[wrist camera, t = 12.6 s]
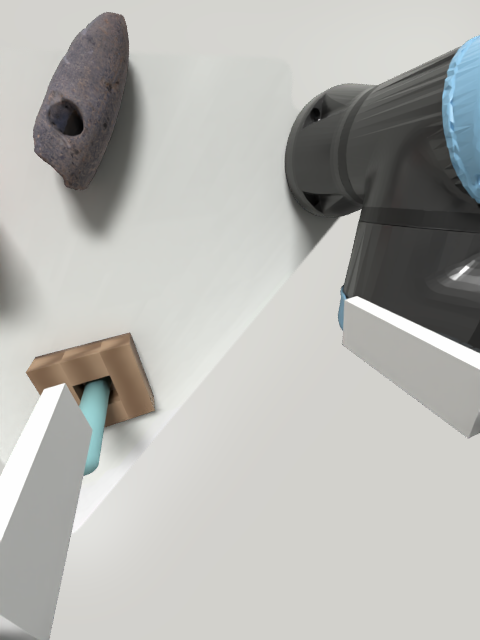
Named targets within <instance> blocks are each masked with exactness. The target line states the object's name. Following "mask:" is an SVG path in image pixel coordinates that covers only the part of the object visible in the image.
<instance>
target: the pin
mask: <svg viewBox="0 0 480 640" xmlns="http://www.w3.org/2000/svg"><path fill="white" fill-rule="evenodd" d="M110 387H111V377H110V376H105V377H102V378H99V379H95V380H92V381H88V382H86V385H85V388H84V391H83V395H82V398H81V402H80V405H79V408H80V409H81V411H82V413H83V414H84V416H85V418H86V420H87V421H88V423H89V425H90V426H91V428H92V430H93V431H92V436H91V441H90V445H89V450H88V455H87V460H86V465H85V469H84V474H83V476H85V475H88V474H90V473H92V472H93V471H94V470H95V469H96V468H97V467H98V464H99V458H100V451H101V445H102V438H103V432H104V426H105V419H106V413H107V406H108V400H109V394H110Z"/></svg>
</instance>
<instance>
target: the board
mask: <svg viewBox="0 0 480 640" xmlns="http://www.w3.org/2000/svg"><path fill="white" fill-rule="evenodd" d="M26 374H27V375H28V377H29V378H30V380H31V381H32V383H33V385H34V386H35V388H36V389H37V391H38V392H39V394H40V396H41V394H42V392H43V390H44V389H46V388H50V387H53V386H57V385H60V384H63V383H65V384H66V385H67V387H68V389H69V390H70V392H71V394H72V396H73V397H74V399H75V401H76V402H77V404H78V406H79V405H80V402H81V398H82V395H83V391H84V388H85V385H86V382H88V381H92V380H95V379H99V378H102V377H105V376H110V377H111V387H110V394H109V400H108V406H107V413H106V419H105V426H104V428H105V427H107V426H110V425H113V424H116V423H119V422H122V421H125V420H128V419H131V418H134V417H137V416H140V415H143V414H146V413H149V412H152V411H155V408H154V396H153V393H152V390H151V387H150V385H149V382H148V379H147V377H146V374H145V371H144V369H143V366H142V363H141V361H140V358H139V355H138V352H137V350H136V347H135V344H134V342H133V339H132V336H131V334H130V333H126V334H123V335H119V336H115V337H111V338H107V339H103V340H100V341H96V342H92V343H88V344H84V345H81V346H77V347H73V348H69V349H65V350H61V351H58V352H54V353H50V354H46V355H42V356H39V357H35V359H34V360H33V362H32V364H31V365H30V367H29V368H28V370H27V372H26Z"/></svg>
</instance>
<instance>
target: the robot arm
mask: <svg viewBox="0 0 480 640" xmlns="http://www.w3.org/2000/svg"><path fill="white" fill-rule="evenodd" d="M285 166H286V175H287V180H288V184H289V187H290V189H291V192H292V194H293V195H294V197H295V199H296V200H297V202H298V203H299V204H300V205H301V206H302V207H303V208H304V209H305V210H307V211H308V212H310V213H312V214H315V215H318V216H325V217H340V216H345V215H348V214H350V213H353V212H355V211H358V210H360V209H362V210H361V215H360V219H359V222H358V227H357V232H356V236H355V240H354V245H353V249H352V254H351V258H350V262H349V266H348V270H347V275H346V279H345V283H344V285H343V286H342V287H341V301H340V307H339V313H338V321H339V324H340V327H341V328H342V330H343V344H342V345H343V346H345V347H346V348H347V349H349V350H350V351H351V352H353V353H354V354H355V355H357V356H358V357H359V358H361V359H362V360H364V361H365V362H366V363H367V364H369V365H370V366H371V367H373V368H374V369H376V370H377V371H378V372H380V373H381V374H382V375H384V376H385V377H386V378H388V379H389V380H390V381H392V382H393V383H394V384H396V385H397V386H398V387H400V388H401V389H402V390H404V391H405V392H406V393H408V394H409V395H410V396H412V397H413V398H415V399H416V400H417V401H418V402H420V403H421V404H422V405H424V406H425V407H427V408H428V409H429V410H431V411H432V412H433V413H435V414H436V415H437V416H439V417H440V418H442V419H443V420H444V421H445V422H447V423H448V424H449V425H451V426H452V427H453V428H455V429H456V430H458V431H459V432H460V433H461V434H463V435H464V436H465V437H467V438H470V437H472V436H474V435H476V434H478V433H480V35H479V36H476V37H474V38H472V39H470V40H468V41H467V42H466V43H465V44H464V45H463V46H460V47H458V48H456V49H454V50H452V51H450V52H447V53H446V54H443V55H441V56H439V57H437V58H435V59H433V60H431V61H428V62H426V63H424V64H422V65H420V66H418V67H416V68H414V69H411V70H409V71H407V72H405V73H403V74H401V75H399V76H396V77H394V78H392V79H390V80H388V81H386V82H384V83H382V84H380V85H364V84H342V85H337V86H335V87H332V88H330V89H328V90H326V91H324V92H323V93H321V94H319V95H318V96H316V97H314V98H313V99H312V100H311V101H310V102H309V103H308V104H307V105H306V106H305V107H304V108H303V109H302V111H301V112H300V114H299V115H298V117H297V118H296V120H295V122H294V124H293V127H292V129H291V132H290V135H289V138H288V142H287V148H286V157H285ZM92 431H93V430H92V428H91V426H90V425H89V423H88V421H87V420H86V418H85V416H84V414H83V413H82V411H81V409H80V408H79V406H78V404H77V402H76V401H75V399H74V397H73V396H72V394H71V392H70V390H69V389H68V387H67V385H66V384H65V383H63V384H60V385H57V386H53V387H50V388H46V389H44V390H43V392H42V394H41V396H40V398H39V400H38V402H37V404H36V406H35V408H34V410H33V412H32V414H31V416H30V418H29V420H28V422H27V424H26V426H25V428H24V430H23V432H22V434H21V436H20V438H19V440H18V442H17V444H16V446H15V448H14V450H13V452H12V454H11V456H10V458H9V460H8V462H7V464H6V466H5V468H4V470H3V472H2V474H1V476H0V640H49V638H50V633H51V628H52V624H53V619H54V614H55V609H56V604H57V599H58V594H59V590H60V585H61V580H62V575H63V571H64V566H65V561H66V556H67V551H68V546H69V541H70V537H71V532H72V527H73V522H74V518H75V513H76V508H77V503H78V498H79V494H80V489H81V484H82V479H83V474H84V469H85V465H86V460H87V455H88V450H89V445H90V441H91V436H92Z"/></svg>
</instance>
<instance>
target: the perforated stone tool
mask: <svg viewBox="0 0 480 640" xmlns="http://www.w3.org/2000/svg"><path fill="white" fill-rule="evenodd" d="M128 59H129V40H128V32H127V26H126V22H125V19H124V17H123V16H122V15H119V14H116V13H111V12H110V13H109V12H106V13H103V14H101V15H99V16H98V17H97V18H95V19H94V20H93V21H92V22H91V23H90V24H88V25H87V27H86V28H85V29H83V30H82V31H81V32H80V33H79V34H78V35H77V36H76V37H75V39H74V40H73V42H72V43H71V45H70V47H69V49H68V52H67V53H66V55H65V56H64V57H63V59H62V60H61V62H60V64H59V65H58V67H57V69H56V71H55V73H54V75H53V77H52V79H51V81H50V84H49V86H48V90H47V93H46V95H45V98H44V100H43V103H42V106H41V108H40V110H39V113H38V115H37V118H36V121H35V126H34V129H33V138H34V146H35V148H34V152H35V153H36V154H37V155H38V156H39V157H40V158H42V159H43V161H45V162H47V163H48V164H49V165H51V166H52V167H53V168H54V169H55V170H56V171H57V172H58V173H59V174H60V175H61V176H62V177H63V179H64V184H65V186H66V187H69V188H73V189H75V190H79V189H80V190H83V189H86V188H87V186H88V185H89V183H90V182H91V180H92V178H93V176H94V174H95V172H96V170H97V168H98V166H99V164H100V162H101V160H102V157H103V155H104V153H105V150H106V148H107V146H108V143H109V141H110V138H111V135H112V132H113V129H114V126H115V123H116V120H117V116H118V113H119V109H120V105H121V101H122V97H123V92H124V87H125V82H126V77H127V70H128Z"/></svg>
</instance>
